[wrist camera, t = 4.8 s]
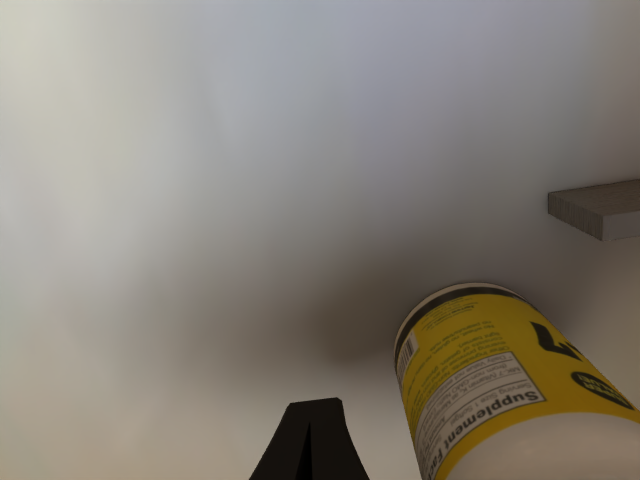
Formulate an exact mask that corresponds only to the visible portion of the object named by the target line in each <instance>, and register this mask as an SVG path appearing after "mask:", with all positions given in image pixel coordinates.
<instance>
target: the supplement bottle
mask: <svg viewBox="0 0 640 480" xmlns="http://www.w3.org/2000/svg"><path fill="white" fill-rule="evenodd" d="M394 365H395V371H396V375H397V379H398V384H399V388H400V392H401V397H402V401H403V404H404V409H405V413H406V417H407V421H408V425H409V429H410V434H411V438H412V442H413V446H414V450H415V454H416V458H417V462H418V466H419V470H420V474H421V478H422V480H640V411H639V410H638V409H637V408H636V407H634V406H633V405H632V404H631V403H630V402H629V401H628V400H627V399H626V398H625V397H624V396H623V395H622V394H621V393H620V392H619V391H618V390H617V389H616V388H615V387H614V386H613V385H612V384H611V383H610V381H609V380H607V379H606V378H605V377H604V376H603V375H602V374H601V373H600V372H599V371H598V370H597V369H596V368H595V367H594V366H593V365H592V364H591V363H590V362H589V360H588V359H586V358H585V357H584V356H583V355H582V354H581V353H580V352H579V351H578V350H577V349H576V348H575V347H574V346H573V345H572V344H571V343H570V342H569V341H568V340H567V339H566V338H565V337H564V336H563V335H562V334H561V333H560V332H559V331H558V330H557V329H556V328H555V327H554V326H553V325H552V324H551V323H550V322H549V321H548V320H547V319H546V318H545V317H544V316H543V315H542V314H541V313H540V312H539V311H538V310H537V309H536V308H535V307H534V306H533V305H531V304H530V303H529V302H528V301H527V300H526V299H524V298H523V297H522V296H520V295H518V294H517V293H515V292H513V291H511V290H509V289H506V288H504V287H501V286H498V285H494V284H488V283H464V284H458V285H454V286H450V287H447V288H444V289H442V290H440V291H438V292H436V293H434V294H432V295H430V296H429V297H427V298H426V299H424V300H423V301H422V302H421V303H419V304H418V305H417V306H416V307H415V308H414V309H413V310H412V311H411V312H410V314H409V315H408V316H407V317H406V319H405V320H404V322H403V324H402V325H401V327H400V329H399V331H398V334H397V337H396V341H395V346H394Z"/></svg>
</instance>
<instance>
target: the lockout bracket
mask: <svg viewBox="0 0 640 480" xmlns="http://www.w3.org/2000/svg"><path fill="white" fill-rule="evenodd" d="M548 214H550V215H552V216H554V217H556V218H558V219H560V220H561V221H563V222H565V223H567V224H569V225H571V226H573V227H575V228H577V229H579V230H581V231H583V232H585V233H587V234H589V235H591V236H593V237H595V238H597V239H598V240H600V241H609V240H616V239H623V238H630V237H637V236H640V180H633V181H627V182H620V183H613V184H607V185H600V186H593V187H587V188H580V189H573V190H567V191H560V192H553V193H549V200H548Z"/></svg>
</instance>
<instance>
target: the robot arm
mask: <svg viewBox="0 0 640 480" xmlns="http://www.w3.org/2000/svg"><path fill="white" fill-rule="evenodd" d="M249 480H370V479H369V477H368V475H367V473H366V471H365V469H364V467H363V465H362V463H361V461H360V459H359V456H358V454H357V452H356V449H355V447H354V445H353V442H352V440H351V437H350V435H349V432H348V429H347V426H346V422H345V416H344V410H343V404H342V400H340V399H339V398H337V397H336V398H327V399H319V400H311V401H303V402H295V403H290V404H289V406H288V407H287V408H286V411H285V413H284V415H283V417H282V419H281V422H280V424H279V426H278V428H277V430H276V432H275V434H274V436H273V438H272V440H271V441H270V443H269V445H268V447H267V449H266V451H265V452H264V454H263V456H262V458H261V460H260V461H259V463H258V465H257V467H256V468H255V470H254V472H253V474H252V475H251V477H250V478H249Z"/></svg>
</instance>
